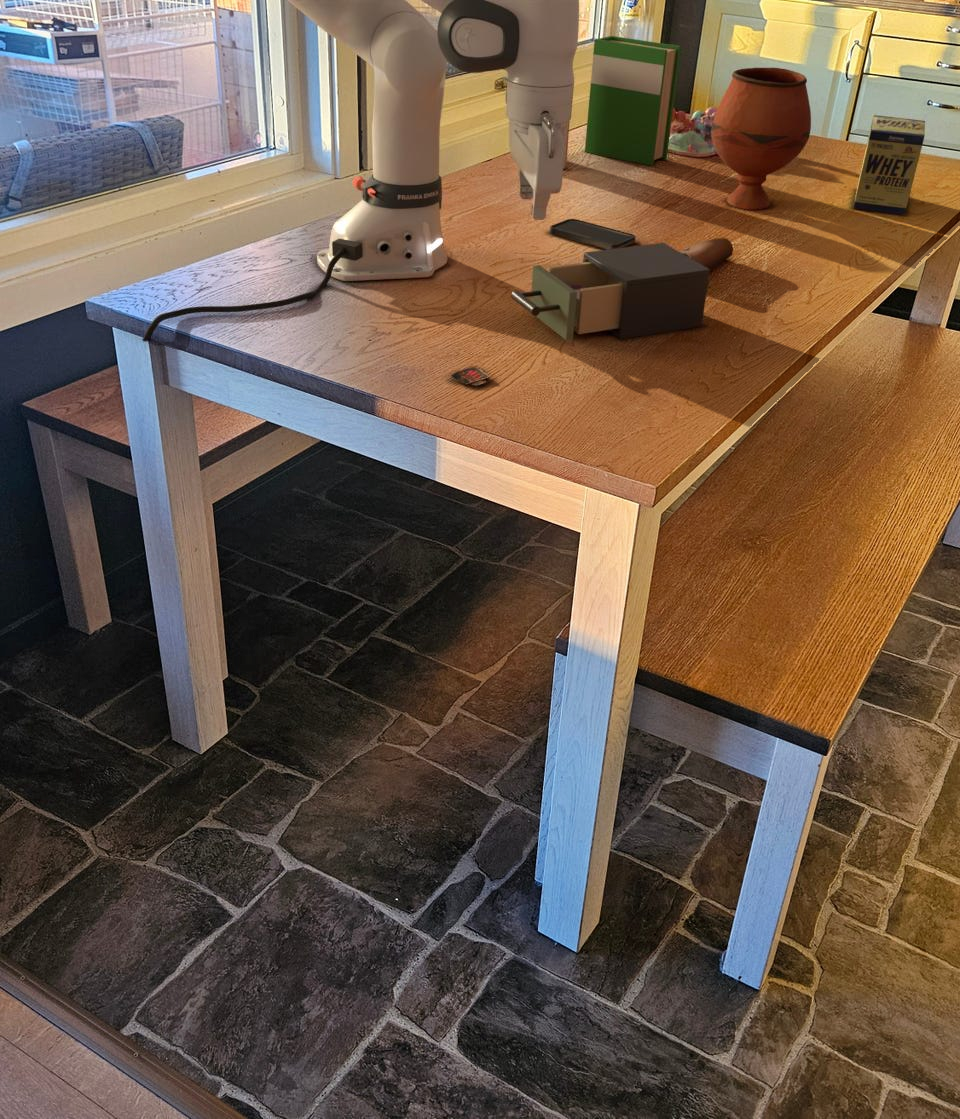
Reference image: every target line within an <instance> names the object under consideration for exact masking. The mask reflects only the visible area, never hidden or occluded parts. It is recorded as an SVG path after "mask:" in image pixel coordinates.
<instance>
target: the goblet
mask: <svg viewBox="0 0 960 1119" xmlns="http://www.w3.org/2000/svg"><path fill="white" fill-rule="evenodd" d="M731 77H732V78H731V81H730V83H729V85H728V87H727V89H726V91H725V93H724V95H723V96H722V98H721V100H720V102H719V104H718V107H717V108H716V109H717V111H716V113H715V116H714V120H713V124H712V131H711V136H712V141H713V144H714V147H715V149H716V151H717V153H718V154H717V155H718V156H719V158H720V160H722V162H723V163H724V164H725V165H726V166H727V167H728V168H730V169H731V170H733V171H734V172H735V173H737V176H736V180H737V181H738V183H739V185H738V186H737V187H736V189H734V190H733V192H731V193H730V194H729V196H728V197H727V199H726V201H727V203H728V204H729V205H730V206H732V207H734V208H738V209H742V210H752V211H754V210H764V209H767V208H768V207H769V206H771V200H770V198H769V196H768V194H767V193H766V191H765V189H764V188H763V184H764V183H765V182H766V180H767V176H770V175H771V174H773V173H776V172H777V171H780V170H781V169H783V168H785V167H786V166H788V165H789V164H791V162H792V161H793V160H795V159H796V158H797V157H798V156H799V155H800V154H801V152H802V151H803V150H804V149H805V147H806V146H807V143H808V141H809V140H810V139H809V138H810V135H811V130H812V112H811V105H810V99H809V94H808V88H807V82H808V79H807V77H806V76H805V75H804V74H802V73H800V72H797V71H794V70H790V69H786V68H780V67H749V68H748V67H747V68H745V67H744V68H739V69H736V70H734V71H733V72H732V74H731Z"/></svg>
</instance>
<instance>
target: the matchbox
mask: <svg viewBox="0 0 960 1119" xmlns="http://www.w3.org/2000/svg"><path fill="white" fill-rule="evenodd" d="M450 377H452V379H455V380H456V381H458V382H459V383H462V384H464V385H468V384H469V385H472V386H476V387H477V386H480V385H484V384H485V383H486V382H487V380H485V379H487V378H489V377H491V376H490V375H489V374H487V373H486V372H484V371H483V369H480V368H478V367H475V366H470V367H467V368H465V369H462V370H457V371H455V372H454V373H452V374H451V375H450ZM455 380H453V381H455ZM456 381H455V382H456Z"/></svg>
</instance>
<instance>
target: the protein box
mask: <svg viewBox="0 0 960 1119" xmlns="http://www.w3.org/2000/svg"><path fill="white" fill-rule="evenodd" d="M925 131H926V121H925V120H921V119H914V118H913V119H912V118H906V117H905V118H904V117H895V116H885V115H876V114H874V115H873V118H872V122H871V125H870V129H869V133H868V138H867V142H866V147H865V152H864V154H863V159H862V165H861V169H860V173H859V177H858V182H857V187H856V191H855V196H854V202H853V206H852V208H853V210H855V209H856V210H862V211H872V212H877V213H885V214H891V215H892V214H893V215H900V216H905V215H906V210H907V206H908V204H909V200H910V196H911V192H912V188H913V183H914V180H915V177H916V176H915V175H916V172H917V168H918V164H919V160H920V156H921V152H922V149H923V144H924V140H925V135H926V132H925Z"/></svg>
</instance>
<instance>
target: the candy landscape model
mask: <svg viewBox="0 0 960 1119" xmlns="http://www.w3.org/2000/svg"><path fill="white" fill-rule="evenodd" d="M716 111H717V108H716V106H710V107H708V108H707V109H706V110H705V111H702V110H696V111H695V112H694V113H693V114H692V116H691V118H690V119H688V118H687V113H686V111H684V110H679V111H677V110H676V109H675V107H673V114H672V121H671V124H672V123H674V122H675V121H676V122H677V123H678V124H679V125H678V124H677V125H674V126H671V129H670V137H669V145H668V152H667V153H671V154H675V155H678V156H679V155H680V156H685V157H686V156H687V157H693V158H703V157H710V156H715V155H718V153H717V151H716V149H715V147H714V144H713V141H712V136H711V131H712V124H713V120H714V116H715V113H716Z"/></svg>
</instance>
